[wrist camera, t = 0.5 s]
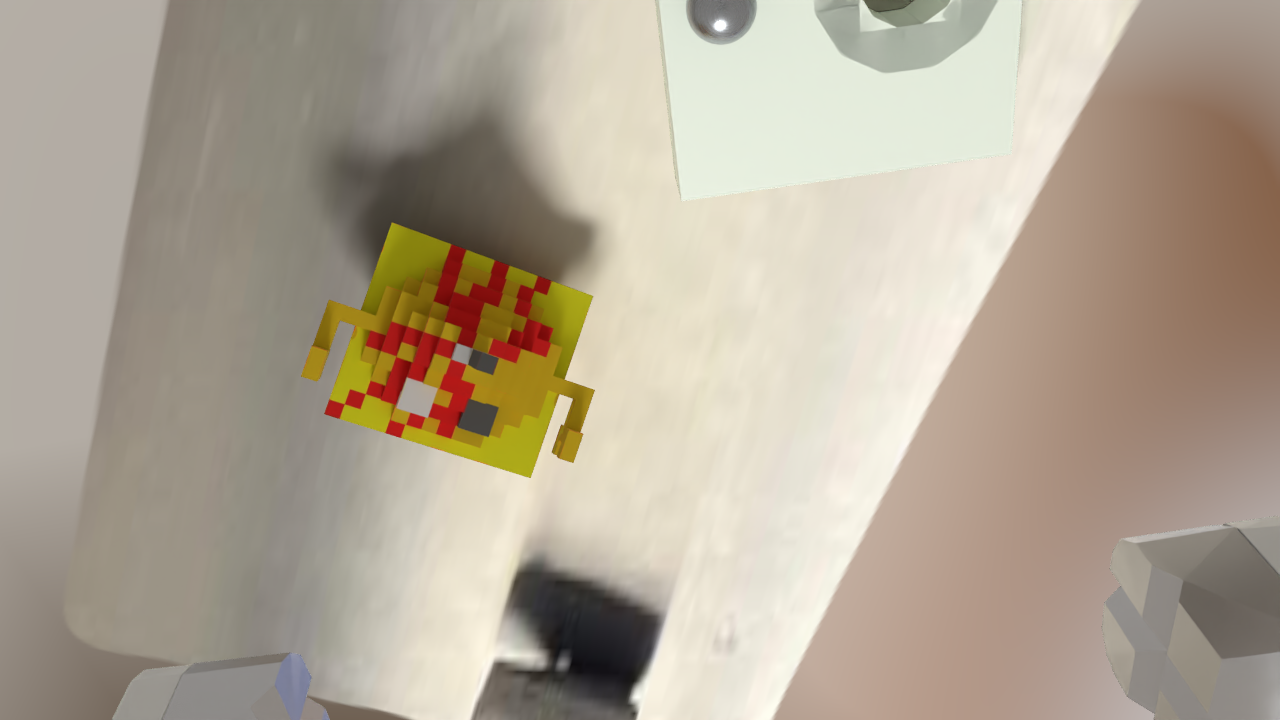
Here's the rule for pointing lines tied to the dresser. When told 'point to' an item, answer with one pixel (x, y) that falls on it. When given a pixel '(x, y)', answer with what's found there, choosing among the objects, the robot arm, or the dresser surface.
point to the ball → (721, 19)
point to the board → (838, 91)
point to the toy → (458, 354)
